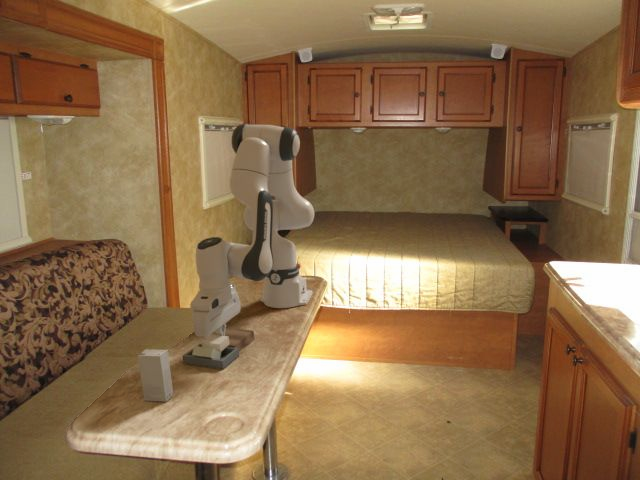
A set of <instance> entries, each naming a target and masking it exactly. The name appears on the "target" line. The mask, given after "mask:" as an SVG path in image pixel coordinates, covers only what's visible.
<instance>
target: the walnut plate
mask: <svg viewBox="0 0 640 480" xmlns="http://www.w3.org/2000/svg"><path fill="white" fill-rule="evenodd" d="M215 335H217V333H215ZM225 336H229V345H228V346H227V347H233V348H239V353H241V351H243V350H244V349H245V348H246V347H247V346H248V345H250V344H251V343H252V342H254V341H255V330H250V329H242V328H231V327H226V330H225Z"/></svg>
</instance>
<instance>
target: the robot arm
mask: <svg viewBox="0 0 640 480" xmlns="http://www.w3.org/2000/svg"><path fill="white" fill-rule="evenodd" d="M300 145H301V141H300V135H299V133H298V132H297V130H296V129H294V128H292V127H287V126H285V127H283V126H278V125H274V124H250V123H243V124H238V125H237V126H236V127H235V128H234V130H233V131H232V134H231V147H232V150H233V151H234V154H235V156H234V160H233V164H232V167H231V174H230V179H229V189H230V192H231V193H232V195H233V197H234V198H235V199H236V200H237V201H239V202H240V203H241V204H243V205H244V206H245V208H244V210H243V215H242V217H243V218H242V219H243V222H244V223H245V225H246V227H247V228H248V229H249V230H251V231H252V239H251V243H250V244H243V243H238V242H237V243H236V242H231V241H226V240H224V238H222V237H220V236H218V237H217V236H212V237H208V238H205V239H201V241H200V242H199V243H197V246H196V250H195V265H196V267H195V268H196V272H197V273H196V274H197V275H198V280H199V282H198V289H199V290H198V292H197V293H196V295H195V297H194V298H193V299H192V300H191V302H190V304H189V305H190V306H189V307H190V309H191V310H192V311H193V312H192V316H191V317H192V326H193V332H194V335H195V336H196V337H198V338H204V339H206V338H207V337H208V336H210V335H211V334H212V335H213V334H214V333H215V334H217V335H220V336H225V330H226V328H227V323H228V322H229V321H230V320H232V319H233V318H235V316H237V315H238V314H239V313H241V302H240V301H241V300H240V297H239V294H238V292H237V290H236V286H234V285H233V284H231V280H230V278H231V277H232V276H234V277H238V278H245V279H246V280H247V279H248V280H250V281H254V282H261V281H263V290H262V291H263V293H262V295H263V296H262V297H260V301H261V302H262V303H263V304H264V305H265V306H266V307H268V308H272V309H273V308H274V309H287V308H288V309H289V308H293V307H298V306H306V305H307V304H308V303H309V301H310V299H311V297H312V296H313V294H314V292H313V290H311V289H307V287H308V286H307V280H306V278H304V277H303V276H302V275H300V271H299V270H300V269H301V267H302V266H301V265H302V264H301V263H299V262H297V252H296V251H297V250H296V249H297V247H296V245H295V244H294V242H293V241H291V240H289V239H287V238H285V237H284V236H283V237H282V236H281V235H280V234H279V233H278V231H283V230H286V231H287V230H298V229H300V230H301V229H304V228H308V227H310V226H311V225H312V223H313V221H314V219H315V209H314V206H313V204H312V203H311V202H310V201H309V200H307V199H306V198H304V197H303V196H302V195H300V193H299V192H298V191H297V189H296V186H295V183H294V174H293V172H294V171H293V159H296V157H297V156H298V153H299V151H300ZM273 197H274V198H276V199H273Z"/></svg>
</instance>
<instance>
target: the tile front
mask: <svg viewBox="0 0 640 480" xmlns="http://www.w3.org/2000/svg"><path fill="white" fill-rule="evenodd" d="M193 348H194V349H193ZM193 348H192V349H193V353H192V355H194V356H199V357H206V358H213V359H220V356H221V352H219V351H217V350H215V349H213V348H206V347H199V346H197V345H194V346H193Z"/></svg>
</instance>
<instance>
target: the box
mask: <svg viewBox="0 0 640 480" xmlns="http://www.w3.org/2000/svg"><path fill="white" fill-rule="evenodd" d="M196 346H199V347H202V342H201V343H198V344H197V345H196ZM193 349H194V347H193V348H191V349H190V350H188V351H187V352H185V353H184V354H183V355H182V356H181V357H182V364H183V365H187V366H188V365H189V366H195V367H202V368H208V369H215V370H223V371H224V370H225V369H226V368H227V367H229V366H230V365H231V364H232V363H234V361H236V360H237V359H238V358H239V357H240V352H239V348H233V347H226V348H225V349H224V350H223V351H221V356H220V359H213V358H206V357H199V356H194V355H192V353H193Z"/></svg>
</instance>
